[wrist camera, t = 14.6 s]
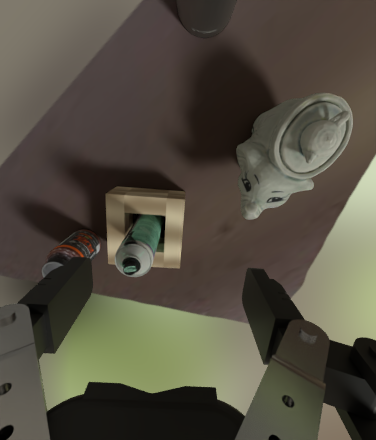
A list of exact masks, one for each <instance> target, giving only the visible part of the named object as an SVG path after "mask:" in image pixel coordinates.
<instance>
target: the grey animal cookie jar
mask: <svg viewBox="0 0 376 440" xmlns="http://www.w3.org/2000/svg"><path fill="white" fill-rule="evenodd" d="M352 128H353V117H352V112H351V109H350V107H349V105H348V104H347V102H346V101H345V100H344V99H343V98H342V97H339V96H336V95H334V94H331V93H315V94H312V95H309V96H307V97H304V98H299V99H290V100H287V101H285V102H283V103H280V104H279V105H278V106H276V107H274V108H272V109H271V110H269V111H266V112H264V113H262V114H261V115H259V117H258V118H257V119H256V120H255V122H254V124H253V128H252V136H251V138H249V139H248V140H247V141H245V142H244V143H242V144H240V145H238V146H237V149H236V153H237V160H238V164H239V166H240V168H241V171H242V173H241V174H240V176H239V179H238V186H239V189H240V191H241V195H242V196H241V212H242V215H243V217H244V218H245V219H255V218H257V217H258V216H259V215H260V214H261V212H262V211H263V210H264V209H266V208H274V207H278V206H280V205H282V204H284V203H285V202H286V201H287V200H288V198H289V197H290V195H291V193H295V192H299V191H304V190H311V189H312V188H313V187H314V184H313V181H312V180H311V177H313V176H315V175H317V174H319V173H320V172H322V171H324V170H325V169H326V168H328V167H329V166H330V165H331V164H332V163H333V162H334V161H335V160H336V159H337V158H338V157H339V155H340V154H341V153H342V151H343V150H344V149H345V147H346V145H347V143H348V141H349V138H350V134H351V131H352Z"/></svg>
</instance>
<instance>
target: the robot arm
mask: <svg viewBox="0 0 376 440" xmlns="http://www.w3.org/2000/svg"><path fill="white" fill-rule="evenodd" d="M236 2H237V0H177V10H178V14H179V18H180V20H181V22H182V24H183V26H184V27H185V28H186V30H188V31H189V32H190V33H191V34H193V35H195V36H197V37H201V38H209V37H213V36H215V35H217V34H219V33H220V32H221V31H222V30H223V29H224V28H225V27H226V25H227V24H228V22H229V20H230V18H231V16H232V13H233V10H234V7H235V5H236ZM92 288H93V279H92V265H91V259H90V258H89V257H72V258H71V259H70V260H69V261H68V262H67V263H66V264H65V265H64V266H59V267H58V268H56V269H54V270H52V271H50V272H49V273H48V274H47V275H46V276H45V277H44V279H42V280H41V281H40V282H39V283H38V285H36V286H35V287H34V288H33V289H32V290H30V291H29V292H28V293H27V294H26V295H25V296H24V297H23V298H22V299H21V300H20V301H19V302H18V303H17V304H10V305H6V306H3V307H0V440H317V439H318V432H319V425H320V419H321V413H322V407H323V403H326V404H328V405H331V406H334V407H335V408H336V410H337V412H338V414H339V415H340V418H341V420H342V421H343V423H344V425H345V427H346V429H347V431H348V433H349V435H350V437H351V439H352V440H376V340H373V339H370V338H357V339H356V340H355V342H354V345H353V347H352V346H348V345H345V344H342V343H338V342H335V341H332V340H329V338H328V336H327V334H326V333H325V332H324V331H323V330H322V329H321V328H320V327H318V326H317V325H315V324H313V323H311V322H309V321H306V320H304V318H303V316H302V315H301V313H300V312H299V311H298V309H297V308H296V306H295V305H294V303H293V302H292V300H291V299H290V297H289V296H288V294H287V293H286V291H285V290H284V288H283V287H282V285H280V284H279V283H278V282H277V281H275V280H274V279H269V277H268V275H267V274H266V272H265V270H264V269H257V268H248V269H247V272H246V277H245V282H244V288H243V293H242V303H243V307H244V310H245V313H246V315H247V318H248V321H249V324H250V327H251V329H252V332H253V335H254V338H255V341H256V344H257V347H258V350H259V352H260V355H261V358H262V361H263V364H264V365H268V367H267V369H266V371H265V374H264V376H263V378H262V380H261V382H260V385H259V387H258V389H257V392H256V394H255V396H254V398H253V400H252V403H251V405H250V407H249V409H248V411H247V414H246V416H244V415H243V414H242V413H241V412H239V411H238V410H237V409H235V408H234V407H232V406H231V405H229V404H227V403H225V402H223V401H220V400H217V394H216V388H212V387H190V386H184V387H180V388H175V389H171V390H167V391H162V392H158V393H148V392H145V391H141V390H138V389H136V388H133V387H130V386H127V385H124V384H121V383H101V382H89V383H88V385H87V388H86V391H85V393H84V394H82V395H78V396H76V397H73V398H70V399H68V400H66V401H64V402H62V403H60V404H58V405H56V406H55V407H53V408H51V409H50V410H49V411H47V406H46V400H45V395H44V389H43V383H42V377H41V371H40V365H39V359H40V357H41V356H42V354H43V353H55V352H56V351H57V349H58V348H59V346H60V344H61V343H62V341H63V340H64V338H65V336H66V335H67V333H68V331H69V330H70V328H71V326H72V325H73V323H74V322H75V320H76V318H77V317H78V315H79V314H80V312H81V310H82V309H83V307H84V306H85V304H86V302H87V301H88V299H89V297H90V295H91V293H92Z"/></svg>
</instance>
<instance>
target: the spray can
mask: <svg viewBox="0 0 376 440" xmlns="http://www.w3.org/2000/svg"><path fill="white" fill-rule="evenodd" d="M163 221H164V220H163V216H162V215H149V214H140V215H139V216H138V218H137V219H136V221H135V222H134V224H133V226H132V227H131V229H130V230H129V232H128V233H127V235H126V237H125V238H124V240H123V241H122V243H121V245H120V246H119V248H118V249H117V252H116V255H115V264H116V267H117V268H118V270H119V271H120V272H121V273H123V274H125V275H127V276H130V277H139V276H142V275H144V274H146V273H147V272H148V271H149V269H150V268H151V266H152V264H153V260H154V256H155V252H156V249H157V245H158V241H159V238H160V234H161V230H162V227H163Z"/></svg>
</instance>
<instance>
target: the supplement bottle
mask: <svg viewBox="0 0 376 440" xmlns="http://www.w3.org/2000/svg"><path fill="white" fill-rule="evenodd" d="M100 248H101V242H100V239H99V238H98V236H97V235H96V234H95V233H94V232H92V231H89V230H83V229H82V230H78V231H76V232H75V233H73V234H72V235H71V236H69V237H68V238H67V239H65V240H64V241H63V242H62V243H60V244H59V245H58V246H57V247H55V248H54V249H53V250H52V251H51V252H50V253H49V254H48V256H47V258H46V264H45V265H44V266H43V268H42V275H43V277H45V276H46V275H47V274H48V273H49V272H50V271H52V270H54V269H56V268H58V267H59V266H64V265H65V264H66V263H67V262H68V261H69V260H70V259H71V258H72V257H89V258H90V259H91V261H92V260H93V259H94V257H95V256H96V255H97V254H98V252H99V251H100Z"/></svg>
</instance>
